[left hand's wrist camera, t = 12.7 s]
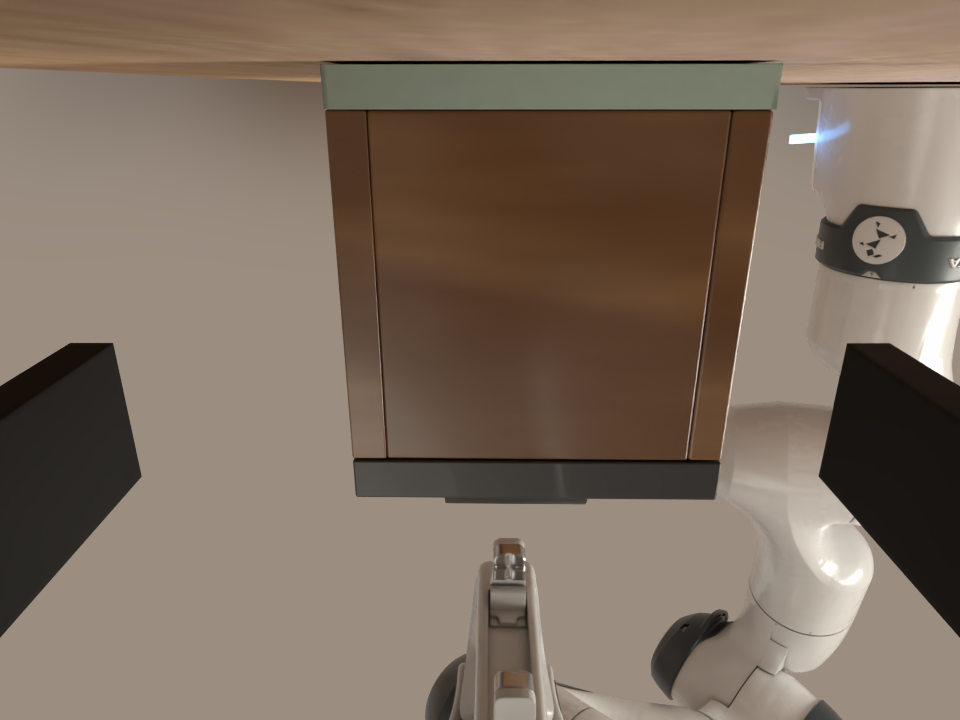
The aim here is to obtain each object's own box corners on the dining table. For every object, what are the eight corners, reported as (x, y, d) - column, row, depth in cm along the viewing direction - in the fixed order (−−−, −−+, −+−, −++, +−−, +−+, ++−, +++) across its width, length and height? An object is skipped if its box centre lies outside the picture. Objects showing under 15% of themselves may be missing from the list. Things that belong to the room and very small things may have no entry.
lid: (617, 293, 31) (603, 462, 34) (415, 292, 31) (421, 460, 34) (722, 463, 17) (682, 722, 20) (352, 460, 17) (373, 718, 20)
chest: (636, 77, 27) (619, 295, 30) (405, 76, 27) (414, 294, 31) (783, 63, 13) (722, 461, 17) (320, 63, 14) (351, 459, 17)
